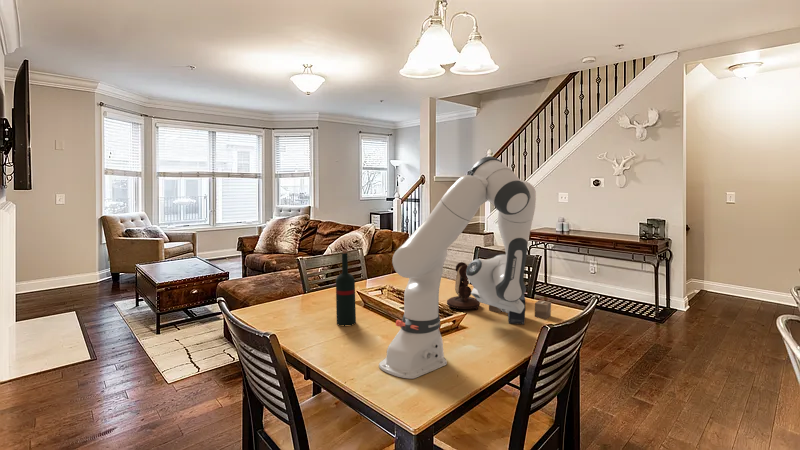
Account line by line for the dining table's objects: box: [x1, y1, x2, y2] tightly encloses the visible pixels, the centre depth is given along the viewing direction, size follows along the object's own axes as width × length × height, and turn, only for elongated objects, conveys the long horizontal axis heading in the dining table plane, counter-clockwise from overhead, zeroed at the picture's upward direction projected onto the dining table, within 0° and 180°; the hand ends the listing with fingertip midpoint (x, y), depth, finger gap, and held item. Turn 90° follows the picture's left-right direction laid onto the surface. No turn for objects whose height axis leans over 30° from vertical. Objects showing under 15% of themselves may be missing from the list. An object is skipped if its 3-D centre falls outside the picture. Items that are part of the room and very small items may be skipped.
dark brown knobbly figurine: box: [446, 261, 481, 311], centre depth 187 cm, size 15×15×20 cm
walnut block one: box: [534, 299, 552, 320], centre depth 174 cm, size 5×5×6 cm
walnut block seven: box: [488, 305, 501, 313], centre depth 183 cm, size 5×5×6 cm
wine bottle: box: [335, 249, 357, 327], centre depth 168 cm, size 8×10×30 cm
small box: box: [507, 294, 526, 325], centre depth 170 cm, size 11×6×10 cm, turn 167°
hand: (506, 310), depth 165 cm, fingers closed
